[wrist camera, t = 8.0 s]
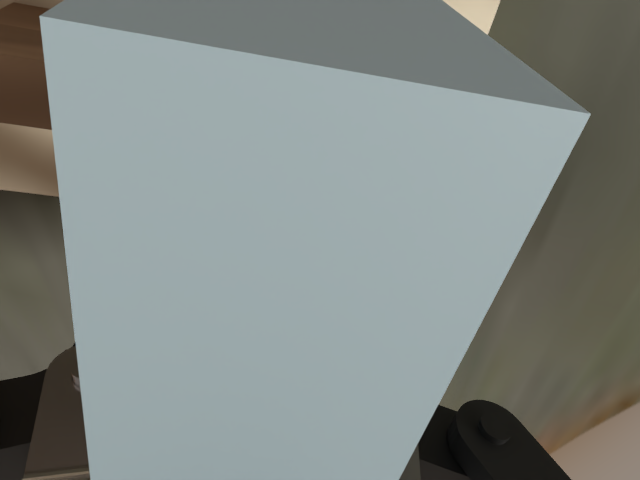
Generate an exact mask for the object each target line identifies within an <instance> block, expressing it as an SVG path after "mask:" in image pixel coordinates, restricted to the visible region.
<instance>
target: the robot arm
mask: <svg viewBox="0 0 640 480" xmlns="http://www.w3.org/2000/svg"><path fill="white" fill-rule="evenodd" d="M0 480H90V471H89V462H88V453H87V443H86V434H85V425H84V416H83V407H82V398H81V389H80V380H79V371H78V362H77V353H76V344H75V343H74V345H73V347H71V348H69V349H67V350H65V351H64V352H62V353H61V354H59V355H58V356H57V357H56V358H55V359H54V360H53V361H52V362H51V363H50V365H49V367H48V368H47V369H45V370H43V371H41V372H38V373H35V374H32V375H28V376H24V377H18V378H13V379H8V380H2V381H0ZM399 480H571V479H570V478H569V477H568V475H567V474H566V473H565V472H564V471H563V470H562V469H561V468H560V466H559V465H558V464H557V463H556V462H555V461H554V460H553V459H552V458H551V456H550V455H549V454H548V453H547V452H546V451H545V450H544V448H543V447H542V446H541V445H540V444H539V443H538V442H537V441H536V439H535V438H534V437H533V436H532V435H531V434H530V433H529V432H528V430H527V429H526V428H525V427H524V426H523V425H522V424H521V423H520V421H519V420H518V419H517V418H516V417H515V416H514V415H513V414H511V413H510V412H509V411H508V410H506V409H505V408H503V407H501V406H499V405H497V404H495V403H492V402H489V401H485V400H472V401H469V402H467V403H465V404H463V405H462V406H461V407H460V409H459V410H458V412H457V411H454V410H451V409H448V408H446V407H443V406H440V405H438V406H437V408H436V410H435V412H434V414H433V416H432V418H431V419H430V421H429V423H428V425H427V427H426V429H425V431H424V433H423V435H422V437H421V438H420V440H419V442H418V444H417V446H416V448H415V450H414V452H413V454H412V456H411V458H410V459H409V461H408V463H407V465H406V467H405V469H404V471H403V473H402V475H401V477H400V478H399Z"/></svg>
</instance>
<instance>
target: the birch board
mask: <svg viewBox="0 0 640 480" xmlns="http://www.w3.org/2000/svg"><path fill="white" fill-rule="evenodd" d="M62 1H64V0H0V9H1V8H3V7H5V6H7V5H9V4H11V3H13V2H16V3H21V4H26V5H32V6H37V7H43V8H48V9H51V8H53V7H54V6H56V5H57V4H59V3H61V2H62ZM443 1H444V2H445V3H446V4H448V5H449V6H450V7H452V8H453V9H454V10H456V11H457V12H458V13H460V14H461V15H462V16H463V17H465V18H466V19H467V20H469V21H470V22H471V23H473V24H474V25H475V26H477V27H478V28H479V29H480V30H482V31H483V32H484V33H486V34H487V35H488V32H489V30H490V27H491V24H492V22H493V19H494V16H495V14H496V11H497V8H498V6H499V3H500V0H443ZM0 190H8V191H16V192H25V193H33V194H41V195H49V196H57V197H59V189H58V180H57V171H56V162H55V153H54V144H53V135H52V130H48V129H41V128H34V127H27V126H20V125H13V124H6V123H0Z"/></svg>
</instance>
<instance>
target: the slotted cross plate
mask: <svg viewBox="0 0 640 480" xmlns="http://www.w3.org/2000/svg"><path fill="white" fill-rule="evenodd" d="M39 17H40V26H41V35H42V44H43V53H44V62H45V71H46V80H47V89H48V98H49V107H50V117H51V126H52V135H53V144H54V153H55V162H56V171H57V180H58V189H59V198H60V207H61V216H62V226H63V235H64V244H65V253H66V262H67V271H68V280H69V289H70V298H71V307H72V316H73V325H74V334H75V344H76V353H77V362H78V371H79V380H80V389H81V398H82V407H83V416H84V425H85V434H86V443H87V453H88V462H89V471H90V480H399V478H400V477H401V475H402V473H403V471H404V469H405V467H406V465H407V463H408V461H409V459H410V458H411V456H412V454H413V452H414V450H415V448H416V446H417V444H418V442H419V440H420V438H421V437H422V435H423V433H424V431H425V429H426V427H427V425H428V423H429V421H430V419H431V418H432V416H433V414H434V412H435V410H436V408H437V406H438V404H439V402H440V400H441V398H442V397H443V395H444V393H445V391H446V389H447V387H448V385H449V383H450V381H451V379H452V378H453V376H454V374H455V372H456V370H457V368H458V366H459V364H460V362H461V360H462V358H463V357H464V355H465V353H466V351H467V349H468V347H469V345H470V343H471V341H472V339H473V338H474V336H475V334H476V332H477V330H478V328H479V326H480V324H481V322H482V320H483V319H484V317H485V315H486V313H487V311H488V309H489V307H490V305H491V303H492V301H493V299H494V298H495V296H496V294H497V292H498V290H499V288H500V286H501V284H502V282H503V280H504V279H505V277H506V275H507V273H508V271H509V269H510V267H511V265H512V263H513V261H514V259H515V258H516V256H517V254H518V252H519V250H520V248H521V246H522V244H523V242H524V240H525V239H526V237H527V235H528V233H529V231H530V229H531V227H532V225H533V223H534V221H535V219H536V218H537V216H538V214H539V212H540V210H541V208H542V206H543V204H544V202H545V200H546V199H547V197H548V195H549V193H550V191H551V189H552V187H553V185H554V183H555V181H556V179H557V178H558V176H559V174H560V172H561V170H562V168H563V166H564V164H565V162H566V160H567V159H568V157H569V155H570V153H571V151H572V149H573V147H574V145H575V143H576V141H577V139H578V138H579V136H580V134H581V132H582V130H583V128H584V126H585V124H586V122H587V120H588V119H589V117H590V115H591V114H590V113H589V112H588V111H586V110H585V109H584V108H582V107H581V106H580V105H579V104H577V103H576V102H575V101H573V100H572V99H571V98H569V97H568V96H567V95H565V94H564V93H563V92H562V91H560V90H559V89H558V88H556V87H555V86H554V85H552V84H551V83H550V82H548V81H547V80H546V79H545V78H543V77H542V76H541V75H539V74H538V73H537V72H535V71H534V70H533V69H531V68H530V67H529V66H528V65H526V64H525V63H524V62H522V61H521V60H520V59H518V58H517V57H516V56H514V55H513V54H512V53H511V52H509V51H508V50H507V49H505V48H504V47H503V46H501V45H500V44H499V43H497V42H496V41H495V40H494V39H492V38H491V37H490V36H488V35H487V34H486V33H484V32H483V31H482V30H480V29H479V28H478V27H477V26H475V25H474V24H473V23H471V22H470V21H469V20H467V19H466V18H465V17H463V16H462V15H461V14H460V13H458V12H457V11H456V10H454V9H453V8H452V7H450V6H449V5H448V4H446V3H445V2H444V1H443V0H64V1H62V2H61V3H59V4H57V5H56V6H54V7H53V8H51V9H50V10H48V11H46V12H45V13H43V14H42V15H40V16H39Z"/></svg>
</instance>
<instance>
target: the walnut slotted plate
mask: <svg viewBox="0 0 640 480" xmlns="http://www.w3.org/2000/svg"><path fill="white" fill-rule="evenodd" d="M48 10H50V9H48V8H43V7H37V6H32V5H26V4H21V3H16V2H13V3H11V4H9V5H7V6H5V7H3V8H1V9H0V123H6V124H13V125H20V126H27V127H34V128H41V129H48V130H52V126H51V117H50V107H49V98H48V89H47V80H46V71H45V62H44V53H43V44H42V35H41V26H40V17H39V16H40V15H42V14H43V13H45V12H46V11H48Z"/></svg>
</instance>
